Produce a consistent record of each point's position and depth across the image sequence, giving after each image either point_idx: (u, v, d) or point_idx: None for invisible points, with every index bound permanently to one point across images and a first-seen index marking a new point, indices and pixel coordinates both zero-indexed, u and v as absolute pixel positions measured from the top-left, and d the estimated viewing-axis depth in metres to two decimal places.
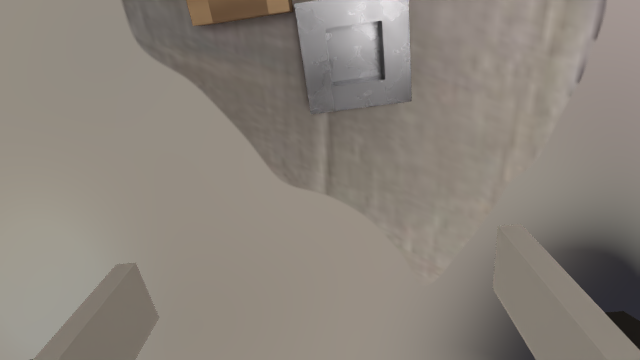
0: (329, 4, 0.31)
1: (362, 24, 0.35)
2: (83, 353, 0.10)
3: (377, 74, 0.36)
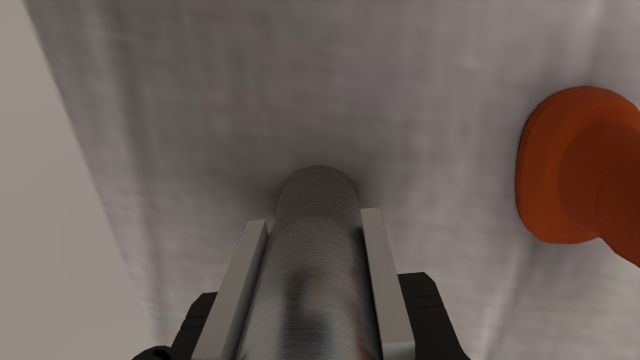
0: None
1: None
2: (251, 286, 0.12)
3: None
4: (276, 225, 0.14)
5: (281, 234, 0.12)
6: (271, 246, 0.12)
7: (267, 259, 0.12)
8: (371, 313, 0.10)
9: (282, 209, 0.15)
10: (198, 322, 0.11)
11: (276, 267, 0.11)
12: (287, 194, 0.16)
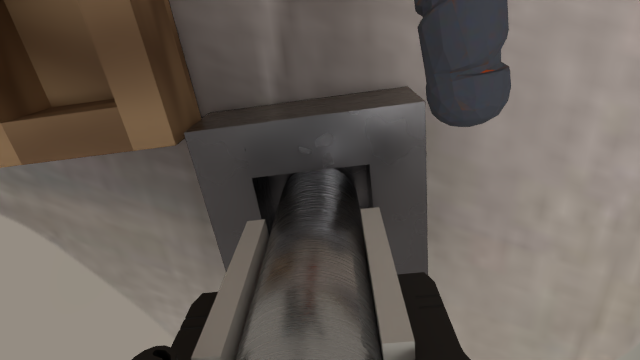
0: (258, 135, 0.15)
1: None
2: (251, 286, 0.12)
3: None
4: (277, 224, 0.14)
5: (282, 234, 0.13)
6: (272, 245, 0.12)
7: (268, 258, 0.12)
8: (371, 311, 0.10)
9: (283, 209, 0.15)
10: (198, 322, 0.11)
11: (278, 266, 0.11)
12: (288, 194, 0.16)
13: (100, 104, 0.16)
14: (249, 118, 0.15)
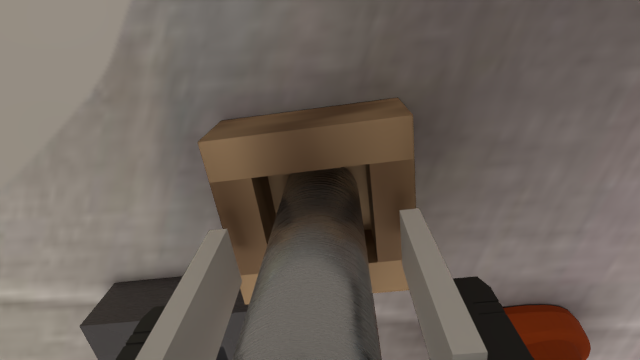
0: None
1: None
2: (203, 300, 0.11)
3: None
4: (280, 213, 0.15)
5: (285, 220, 0.13)
6: (275, 231, 0.13)
7: (272, 242, 0.13)
8: (367, 290, 0.11)
9: (286, 198, 0.15)
10: (144, 338, 0.10)
11: (280, 248, 0.12)
12: (291, 185, 0.17)
13: (271, 227, 0.18)
14: None
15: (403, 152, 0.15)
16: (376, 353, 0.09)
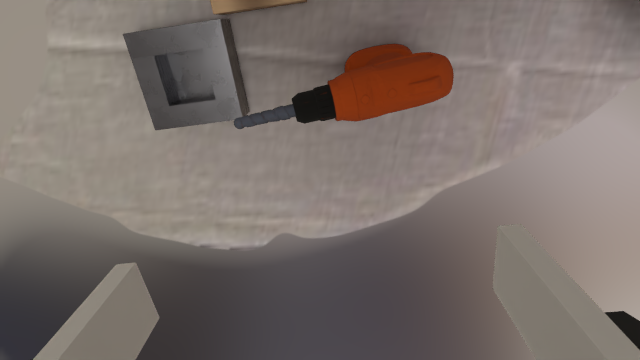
0: (222, 53, 0.36)
1: None
2: (83, 353, 0.10)
3: (179, 96, 0.41)
4: None
5: None
6: None
7: None
8: None
9: None
10: None
11: None
12: None
13: None
14: (228, 46, 0.36)
15: None
16: None
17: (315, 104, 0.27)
